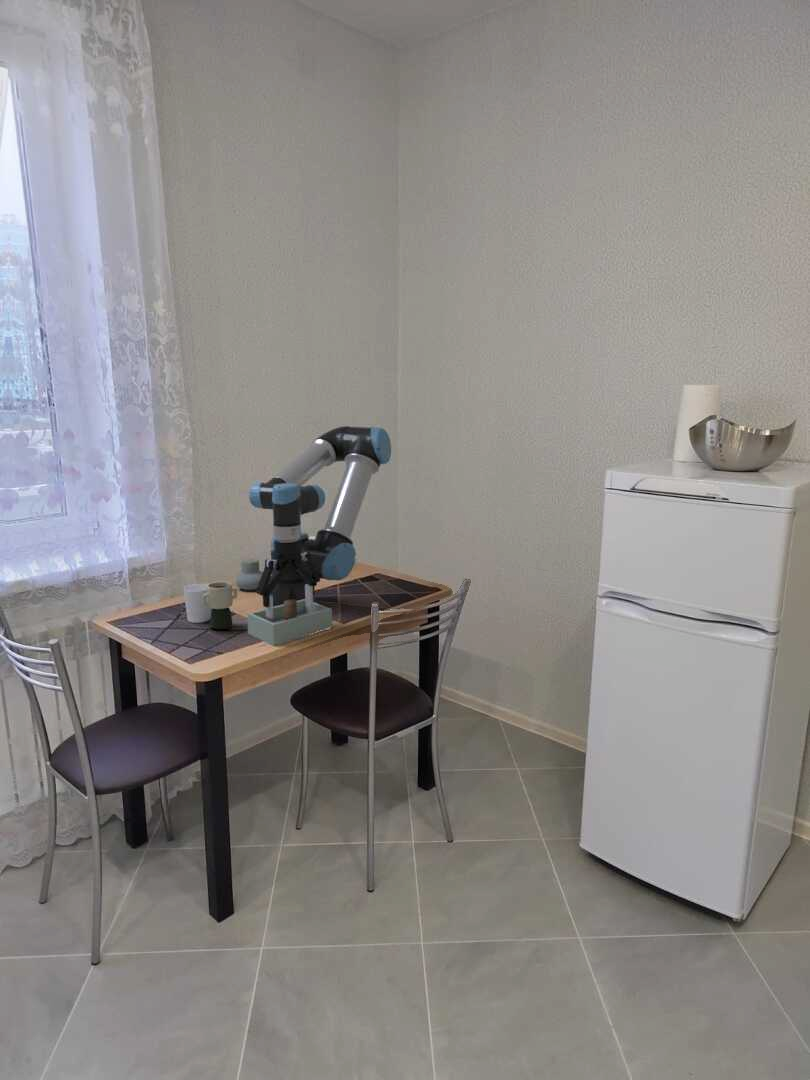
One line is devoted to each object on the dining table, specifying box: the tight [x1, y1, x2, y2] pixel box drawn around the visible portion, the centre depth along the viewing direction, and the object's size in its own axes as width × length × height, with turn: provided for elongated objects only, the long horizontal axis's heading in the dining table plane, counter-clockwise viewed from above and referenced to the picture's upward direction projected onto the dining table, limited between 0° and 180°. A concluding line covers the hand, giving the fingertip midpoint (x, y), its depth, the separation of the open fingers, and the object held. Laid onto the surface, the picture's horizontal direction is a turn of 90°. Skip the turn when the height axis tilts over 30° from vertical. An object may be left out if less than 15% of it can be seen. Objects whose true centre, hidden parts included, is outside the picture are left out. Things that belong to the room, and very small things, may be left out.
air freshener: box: [235, 557, 263, 591], centre depth 244 cm, size 11×8×10 cm
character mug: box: [202, 581, 238, 630], centre depth 205 cm, size 11×7×13 cm, turn 132°
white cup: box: [183, 583, 212, 624], centre depth 212 cm, size 8×8×10 cm
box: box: [246, 599, 333, 647], centre depth 203 cm, size 20×13×6 cm, turn 134°
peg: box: [284, 599, 297, 620], centre depth 203 cm, size 4×4×9 cm
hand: (289, 612), depth 203 cm, fingers open, 13 cm apart
